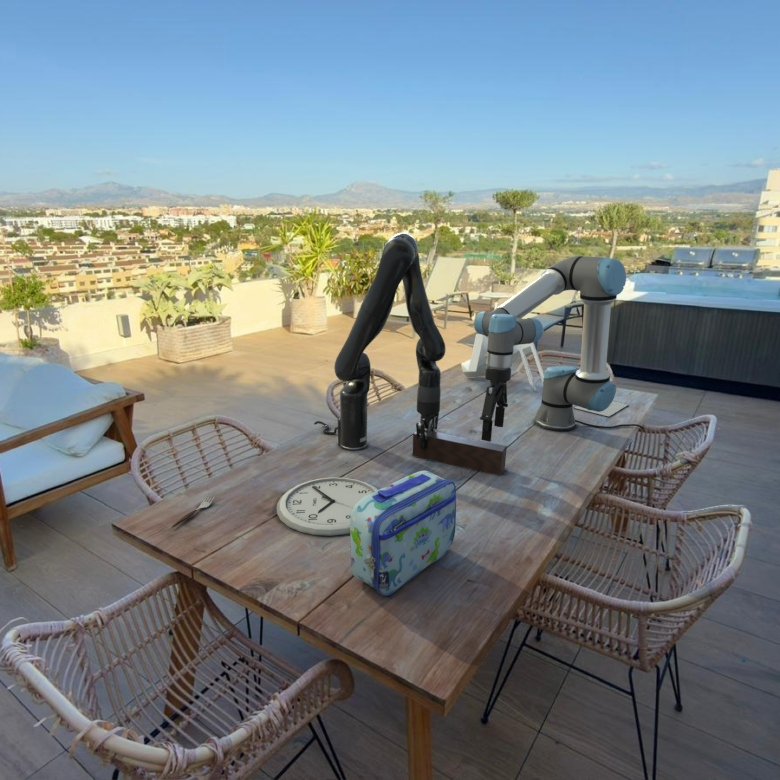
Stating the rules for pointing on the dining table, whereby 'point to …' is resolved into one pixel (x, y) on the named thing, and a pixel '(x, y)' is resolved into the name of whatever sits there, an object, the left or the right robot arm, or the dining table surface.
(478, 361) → the white plastic object
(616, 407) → the invitation card
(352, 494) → the wall clock
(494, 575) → the dining table surface
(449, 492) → the lunch box
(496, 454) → the walnut beam
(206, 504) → the fork
